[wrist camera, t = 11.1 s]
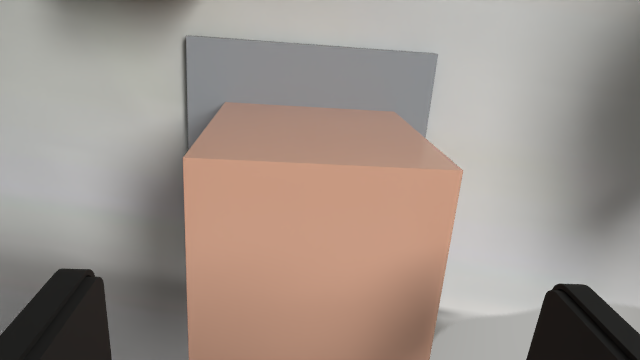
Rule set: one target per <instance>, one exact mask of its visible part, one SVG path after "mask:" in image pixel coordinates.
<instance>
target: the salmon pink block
mask: <svg viewBox="0 0 640 360" xmlns="http://www.w3.org/2000/svg"><path fill="white" fill-rule="evenodd" d="M462 174H463V170H462V169H461V168H460V167H458V166H457V165H456V164H455V163H454V162H453V161H451V160H450V159H449V158H448V157H447V156H446V155H444V154H443V153H442V152H441V151H440V150H439V149H437V148H436V147H435V146H434V145H433V144H432V143H430V142H429V141H428V140H427V139H426V138H425V137H423V136H422V135H421V134H420V133H419V132H418V131H416V130H415V129H414V128H413V127H412V126H411V125H409V124H408V123H407V122H406V121H405V120H404V119H402V118H401V117H400V116H399V115H398V114H397V113H395V112H392V111H374V110H357V109H339V108H321V107H304V106H286V105H268V104H251V103H233V102H225V103H224V104H223V106H222V107H221V108H220V110H219V111H218V112H217V114H216V115H215V116H214V117H213V119H212V120H211V121H210V123H209V124H208V125H207V127H206V128H205V129H204V131H203V132H202V133H201V135H200V136H199V137H198V138H197V140H196V141H195V142H194V144H193V145H192V146H191V148H190V149H189V150H188V152H187V153H186V154H185V156H184V157H183V178H184V212H185V246H186V280H187V313H188V347H189V360H429V359H430V353H431V347H432V342H433V337H434V331H435V325H436V320H437V314H438V308H439V303H440V297H441V292H442V286H443V280H444V275H445V269H446V264H447V258H448V252H449V247H450V241H451V235H452V230H453V224H454V219H455V213H456V207H457V202H458V196H459V191H460V185H461V179H462Z"/></svg>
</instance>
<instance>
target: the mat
mask: <svg viewBox="0 0 640 360" xmlns="http://www.w3.org/2000/svg"><path fill="white" fill-rule="evenodd" d="M186 58H187V108H188V150H189V149H190V148H191V146H192V145H193V144H194V142H195V141H196V140H197V138H198V137H199V136H200V135H201V133H202V132H203V131H204V129H205V128H206V127H207V125H208V124H209V123H210V121H211V120H212V119H213V117H214V116H215V115H216V114H217V112H218V111H219V110H220V108H221V107H222V106H223V104H224V103H225V102H233V103H251V104H268V105H286V106H304V107H321V108H339V109H357V110H374V111H392V112H395V113H397V114H398V115H399V116H400V117H401V118H402V119H404V120H405V121H406V122H407V123H408V124H409V125H411V126H412V127H413V128H414V129H415V130H416V131H418V132H419V133H420V134H421V135H422V136H423V137H426V130H427V124H428V117H429V110H430V104H431V97H432V91H433V84H434V77H435V71H436V64H437V58H438V54H434V53H421V52H407V51H393V50H380V49H366V48H352V47H339V46H325V45H311V44H298V43H284V42H270V41H257V40H243V39H229V38H216V37H202V36H189V35H188V36H186Z"/></svg>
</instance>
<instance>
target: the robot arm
mask: <svg viewBox="0 0 640 360" xmlns="http://www.w3.org/2000/svg"><path fill="white" fill-rule="evenodd" d="M0 360H112V359H111V349H110V340H109V330H108V321H107V311H106V302H105V292H104V284H103V280H102V278H101V277H95V275H94V273H93V271H92V270H90V269H59V270H58V271H57V272H56V273H55V274H54V275H53V276H52V277H51V278H50V279H49V281H48V282H47V283H46V284H45V285H44V286H43V287H42V289H41V290H40V291H39V292H38V293H37V294H36V295H35V297H34V298H33V299H32V300H31V301H30V302H29V303H28V305H27V306H26V307H25V308H24V309H23V310H22V311H21V313H20V314H19V315H18V316H17V317H16V318H15V319H14V321H13V322H12V323H11V324H10V325H9V326H8V327H7V329H6V330H5V331H4V332H3V333H2V334H1V335H0ZM526 360H640V334H639V333H638V332H637V331H636V330H634V329H633V328H632V327H631V326H630V325H629V324H628V323H627V322H626V321H625V320H624V319H623V318H622V317H621V316H619V314H618V313H616V312H615V311H614V310H613V309H612V308H611V307H610V306H609V305H608V304H607V303H606V302H605V301H604V300H603V299H602V298H601V297H599V296H598V295H597V294H596V293H595V292H594V291H593V290H592V289H591V288H590V287H588V286H587V285H582V284H557V285H555V286H554V287H553V289H552V290H550V291H548V292H547V293H546V295H545V298H544V301H543V304H542V308H541V311H540V315H539V318H538V322H537V325H536V328H535V332H534V335H533V339H532V342H531V346H530V349H529V352H528V356H527V359H526Z"/></svg>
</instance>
